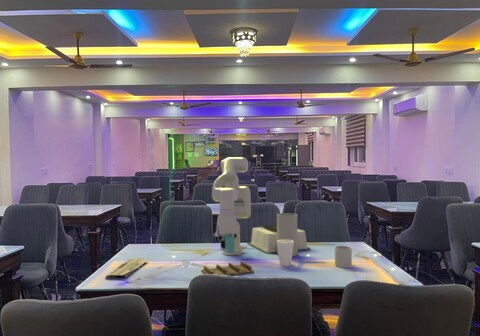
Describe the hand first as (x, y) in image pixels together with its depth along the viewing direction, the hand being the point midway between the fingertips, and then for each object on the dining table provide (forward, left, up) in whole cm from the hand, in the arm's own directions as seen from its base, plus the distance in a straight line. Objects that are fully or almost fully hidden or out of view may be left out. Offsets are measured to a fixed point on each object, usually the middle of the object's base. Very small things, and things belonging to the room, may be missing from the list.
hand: (227, 247), depth 194 cm
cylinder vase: (-48, -19, -13) cm, 53 cm away
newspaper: (+46, -28, -14) cm, 56 cm away
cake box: (-55, -42, -14) cm, 71 cm away
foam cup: (-35, 0, -13) cm, 37 cm away
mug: (-63, +16, -13) cm, 66 cm away
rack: (0, 0, -13) cm, 13 cm away
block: (0, 0, -2) cm, 2 cm away
